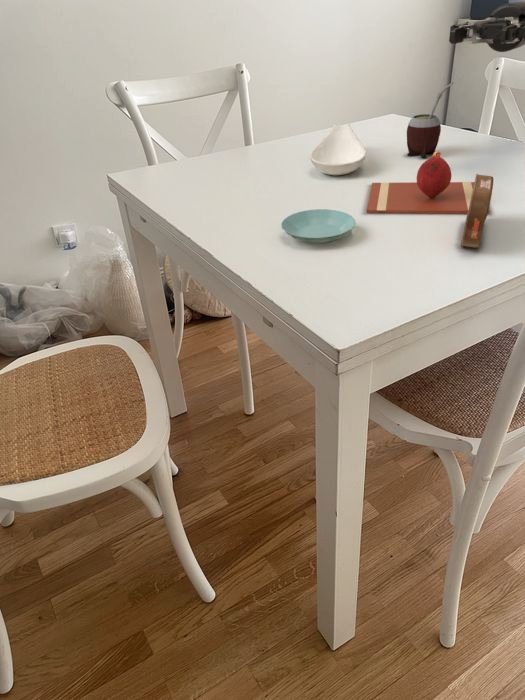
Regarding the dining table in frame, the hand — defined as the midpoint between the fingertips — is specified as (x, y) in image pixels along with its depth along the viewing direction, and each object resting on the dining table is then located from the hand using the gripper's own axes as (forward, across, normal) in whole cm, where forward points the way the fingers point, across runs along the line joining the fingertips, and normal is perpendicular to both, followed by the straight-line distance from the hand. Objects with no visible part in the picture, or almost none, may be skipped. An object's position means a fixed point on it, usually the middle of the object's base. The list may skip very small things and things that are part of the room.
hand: (477, 36), depth 89 cm
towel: (+10, -2, +24) cm, 27 cm away
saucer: (+34, -9, +25) cm, 43 cm away
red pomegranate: (+11, 0, +24) cm, 26 cm away
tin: (+22, +12, +25) cm, 35 cm away
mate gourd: (-15, -15, +24) cm, 32 cm away
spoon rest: (-1, -28, +24) cm, 37 cm away
